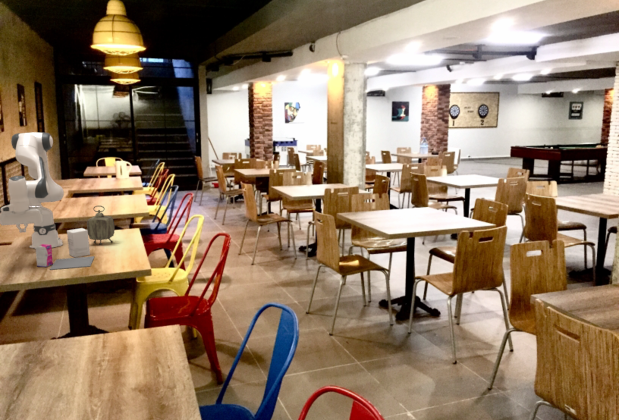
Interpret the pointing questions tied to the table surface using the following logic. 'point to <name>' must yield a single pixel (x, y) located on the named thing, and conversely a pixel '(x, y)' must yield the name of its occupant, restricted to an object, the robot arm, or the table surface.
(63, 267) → the mat
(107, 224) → the tabletop clock
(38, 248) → the supplement box
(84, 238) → the supplement box
